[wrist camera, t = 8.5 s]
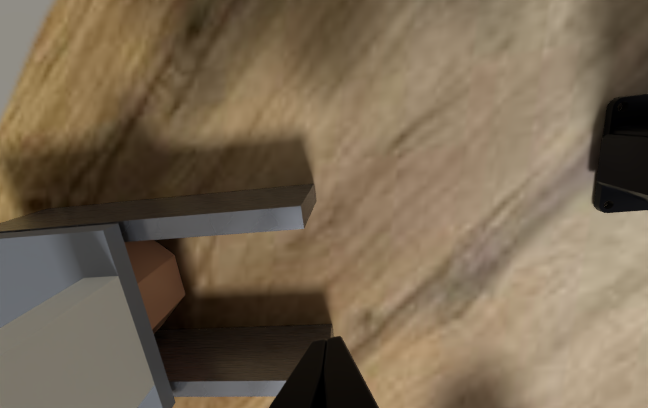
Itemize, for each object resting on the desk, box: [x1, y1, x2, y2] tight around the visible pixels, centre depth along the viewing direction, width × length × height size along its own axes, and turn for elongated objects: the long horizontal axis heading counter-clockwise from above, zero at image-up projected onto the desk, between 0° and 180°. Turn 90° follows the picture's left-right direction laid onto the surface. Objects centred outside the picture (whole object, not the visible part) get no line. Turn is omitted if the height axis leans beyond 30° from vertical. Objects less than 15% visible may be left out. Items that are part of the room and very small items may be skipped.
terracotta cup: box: [124, 240, 185, 334], centre depth 21 cm, size 8×8×5 cm
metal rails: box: [0, 184, 334, 397], centre depth 20 cm, size 20×12×5 cm, turn 97°
